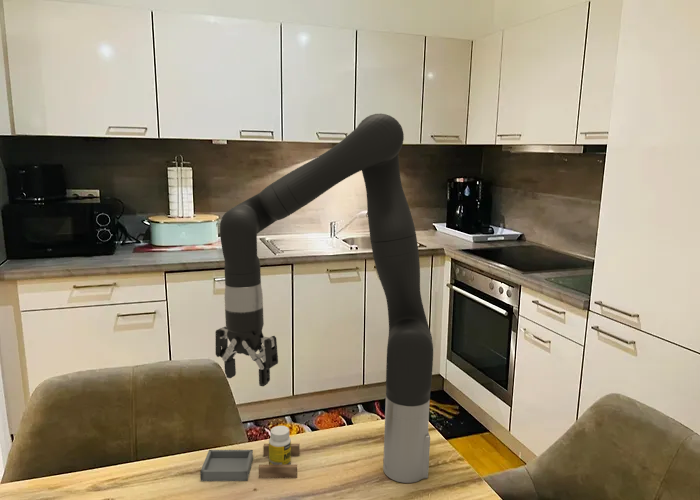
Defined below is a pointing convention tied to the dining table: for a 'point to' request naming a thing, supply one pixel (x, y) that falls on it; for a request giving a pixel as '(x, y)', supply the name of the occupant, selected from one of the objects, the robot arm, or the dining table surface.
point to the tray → (227, 465)
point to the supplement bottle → (280, 446)
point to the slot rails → (279, 470)
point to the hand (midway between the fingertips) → (247, 380)
